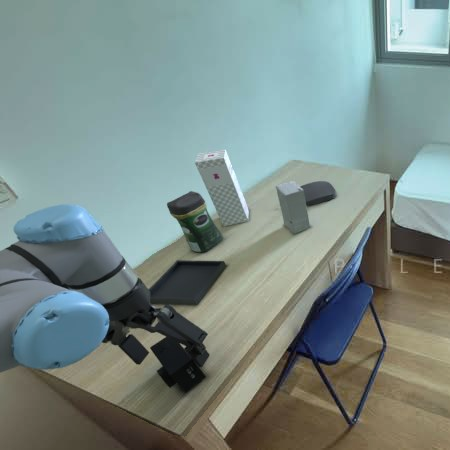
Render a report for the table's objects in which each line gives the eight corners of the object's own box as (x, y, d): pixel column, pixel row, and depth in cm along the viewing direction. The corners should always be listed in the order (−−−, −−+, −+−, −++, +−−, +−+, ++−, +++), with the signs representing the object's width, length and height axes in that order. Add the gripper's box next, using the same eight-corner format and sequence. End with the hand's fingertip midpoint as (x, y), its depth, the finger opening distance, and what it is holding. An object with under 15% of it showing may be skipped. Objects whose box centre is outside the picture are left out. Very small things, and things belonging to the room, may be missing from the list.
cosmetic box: (284, 225, 112) (272, 186, 102) (302, 217, 115) (292, 179, 106) (294, 235, 106) (282, 195, 97) (313, 226, 110) (303, 187, 101)
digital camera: (159, 369, 67) (142, 351, 63) (185, 351, 71) (170, 332, 67) (179, 398, 62) (162, 380, 58) (206, 377, 66) (192, 358, 62)
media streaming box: (303, 208, 120) (302, 201, 119) (294, 193, 131) (292, 186, 129) (338, 197, 126) (337, 191, 124) (327, 184, 137) (326, 178, 135)
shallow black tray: (197, 305, 82) (193, 299, 81) (143, 303, 83) (139, 298, 82) (226, 266, 94) (224, 260, 93) (180, 265, 96) (177, 260, 94)
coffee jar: (211, 233, 109) (188, 187, 98) (227, 238, 106) (205, 191, 95) (186, 250, 102) (158, 201, 91) (202, 255, 99) (176, 206, 88)
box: (225, 214, 119) (198, 153, 104) (248, 209, 121) (225, 149, 107) (223, 226, 112) (194, 162, 98) (248, 220, 115) (223, 157, 100)
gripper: (197, 275, 54) (239, 345, 66) (66, 272, 55) (131, 341, 68) (168, 310, 48) (220, 380, 60) (22, 306, 49) (103, 374, 62)
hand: (173, 359), depth 64 cm, fingers open, 13 cm apart
